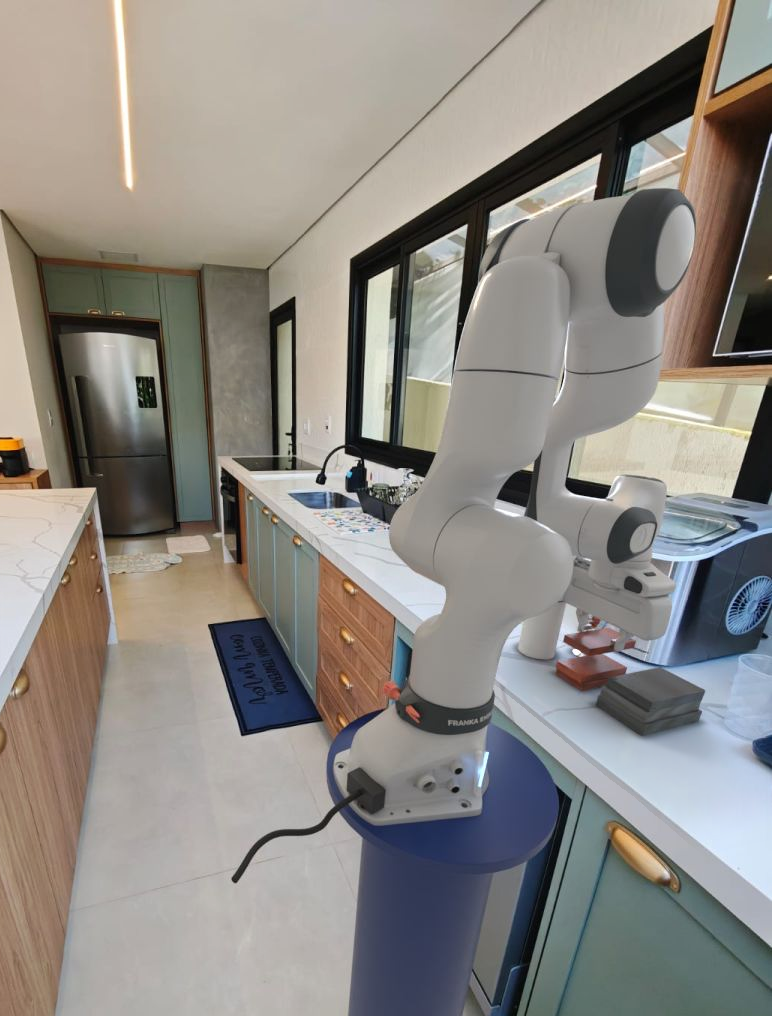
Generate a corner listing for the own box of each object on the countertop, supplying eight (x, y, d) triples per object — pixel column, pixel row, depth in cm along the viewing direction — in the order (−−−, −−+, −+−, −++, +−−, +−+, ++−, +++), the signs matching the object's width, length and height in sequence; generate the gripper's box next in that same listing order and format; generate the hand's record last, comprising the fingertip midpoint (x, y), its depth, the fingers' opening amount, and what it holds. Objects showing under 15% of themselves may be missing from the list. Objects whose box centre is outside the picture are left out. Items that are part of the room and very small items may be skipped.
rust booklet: (588, 656, 89) (590, 649, 88) (562, 641, 94) (564, 634, 93) (634, 648, 92) (636, 640, 92) (607, 634, 98) (608, 627, 97)
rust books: (579, 691, 91) (583, 677, 90) (553, 674, 97) (556, 660, 96) (624, 682, 95) (628, 668, 94) (597, 666, 100) (600, 652, 99)
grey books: (641, 736, 79) (651, 704, 77) (595, 705, 87) (603, 675, 85) (698, 721, 84) (710, 691, 81) (649, 693, 91) (658, 664, 89)
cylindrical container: (531, 660, 101) (556, 540, 92) (511, 644, 108) (533, 530, 98) (561, 657, 103) (590, 539, 94) (540, 642, 109) (564, 529, 100)
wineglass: (581, 645, 109) (594, 593, 104) (605, 657, 104) (620, 603, 99) (562, 650, 106) (575, 597, 102) (586, 662, 101) (600, 607, 97)
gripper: (558, 554, 96) (544, 620, 101) (657, 591, 78) (634, 669, 83) (584, 551, 98) (569, 616, 103) (686, 587, 80) (662, 664, 85)
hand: (599, 640), depth 93 cm, fingers closed on rust booklet, 6 cm apart
